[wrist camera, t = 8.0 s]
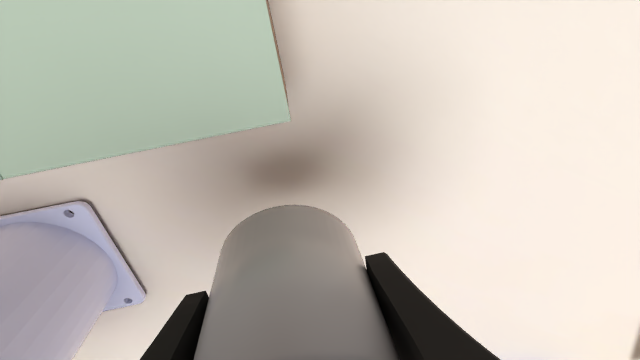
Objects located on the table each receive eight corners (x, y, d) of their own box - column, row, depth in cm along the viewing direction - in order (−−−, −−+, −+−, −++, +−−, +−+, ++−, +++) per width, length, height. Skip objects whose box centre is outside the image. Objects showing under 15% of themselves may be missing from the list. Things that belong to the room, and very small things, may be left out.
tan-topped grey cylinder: (242, 322, 12) (221, 498, 7) (198, 222, 10) (130, 391, 5) (363, 295, 12) (414, 451, 8) (350, 191, 10) (412, 327, 5)
